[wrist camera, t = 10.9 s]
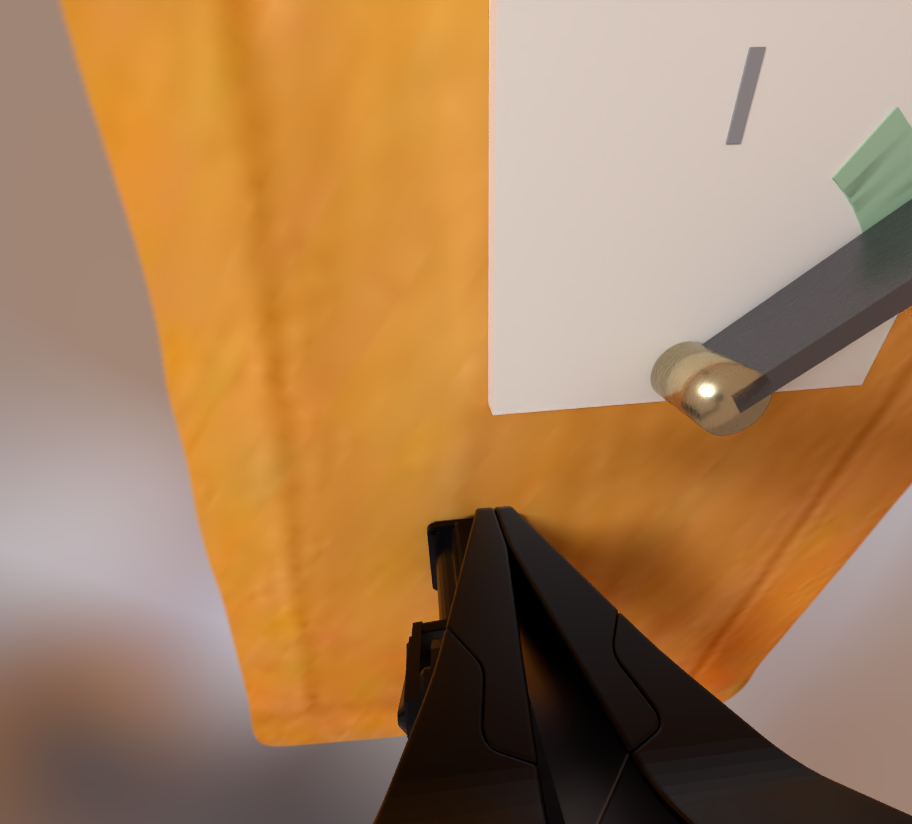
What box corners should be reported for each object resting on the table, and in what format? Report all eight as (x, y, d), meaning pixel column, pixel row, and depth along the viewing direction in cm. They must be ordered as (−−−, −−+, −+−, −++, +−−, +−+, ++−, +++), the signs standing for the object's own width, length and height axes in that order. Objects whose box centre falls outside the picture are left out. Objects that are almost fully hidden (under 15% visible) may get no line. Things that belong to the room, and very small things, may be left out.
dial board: (836, 374, 24) (863, 385, 22) (488, 402, 22) (493, 416, 21) (1071, -121, 14) (1143, -156, 13) (489, -132, 13) (499, -175, 11)
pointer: (665, 408, 21) (714, 447, 18) (640, 368, 20) (689, 402, 16) (987, 193, 17) (1131, 189, 14) (983, 125, 16) (1142, 102, 13)
